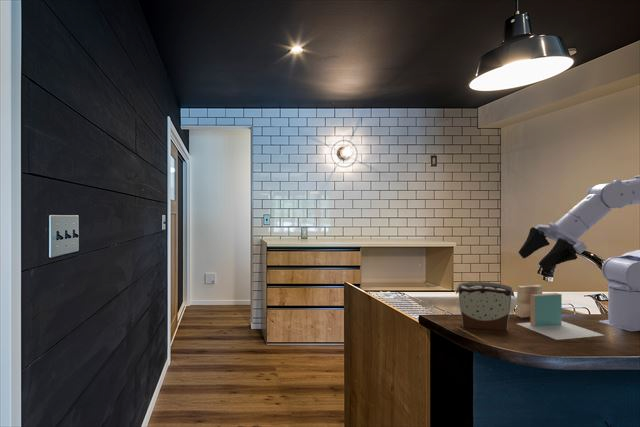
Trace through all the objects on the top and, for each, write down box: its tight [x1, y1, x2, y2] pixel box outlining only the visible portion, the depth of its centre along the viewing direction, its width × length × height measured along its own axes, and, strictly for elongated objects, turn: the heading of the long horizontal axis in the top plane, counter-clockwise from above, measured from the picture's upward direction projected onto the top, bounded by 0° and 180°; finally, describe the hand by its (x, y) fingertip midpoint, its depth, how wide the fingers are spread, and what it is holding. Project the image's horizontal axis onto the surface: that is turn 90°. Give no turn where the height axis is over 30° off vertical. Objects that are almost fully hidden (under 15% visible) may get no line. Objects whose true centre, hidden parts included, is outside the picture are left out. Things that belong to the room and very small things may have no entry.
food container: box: [455, 281, 516, 331], centre depth 93 cm, size 12×6×10 cm, turn 74°
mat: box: [516, 320, 606, 341], centre depth 90 cm, size 12×12×1 cm
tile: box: [529, 292, 563, 327], centre depth 93 cm, size 7×2×7 cm, turn 103°
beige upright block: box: [516, 284, 543, 318], centre depth 101 cm, size 6×2×8 cm, turn 103°
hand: (530, 261), depth 94 cm, fingers open, 7 cm apart
